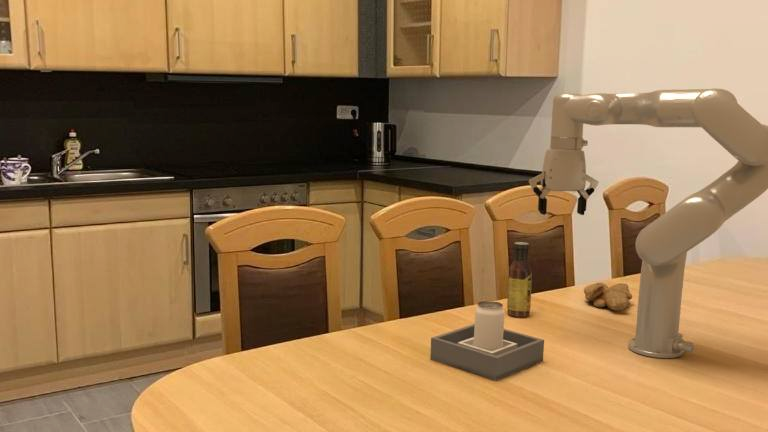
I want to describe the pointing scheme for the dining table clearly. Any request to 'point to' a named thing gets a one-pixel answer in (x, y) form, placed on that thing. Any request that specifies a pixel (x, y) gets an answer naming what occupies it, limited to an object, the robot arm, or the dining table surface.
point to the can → (489, 325)
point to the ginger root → (608, 295)
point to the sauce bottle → (519, 282)
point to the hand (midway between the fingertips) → (561, 214)
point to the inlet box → (487, 353)
